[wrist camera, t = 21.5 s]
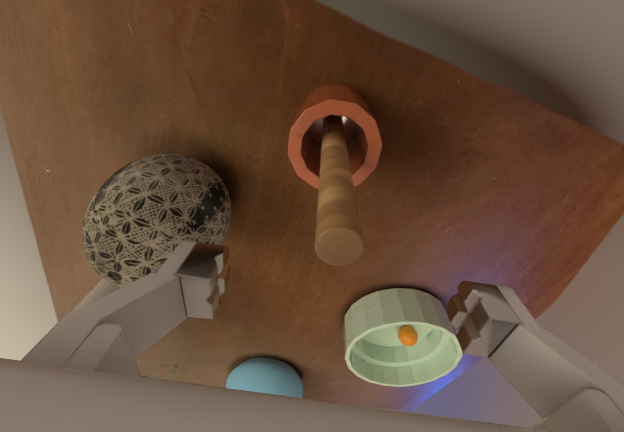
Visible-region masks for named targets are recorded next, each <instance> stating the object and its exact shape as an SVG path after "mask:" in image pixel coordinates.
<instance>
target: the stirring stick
mask: <svg viewBox="0 0 624 432" xmlns="http://www.w3.org/2000/svg"><path fill="white" fill-rule="evenodd" d="M363 250H364V242H363V236H362V231H361V225H360V219H359V213H358V207H357V202H356V196H355V190H354V184H353V178H352V173H351V167H350V161H349V155H348V150H347V144H346V138H345V132H344V126H343V121H342V118H341V117H340V116H338V115H329V116H326V117H325V118H324V120H323V131H322V146H321V161H320V175H319V190H318V204H317V219H316V234H315V251H316V254H317V255H318V257H319V258H320V259H321V260H322V261H324V262H325V263H327V264H330V265H334V266H344V265H348V264H351V263H353V262H355V261H356V260H357V259H358V258H359V257H360V256H361V254H362V253H363Z"/></svg>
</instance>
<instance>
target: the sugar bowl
mask: <svg viewBox="0 0 624 432" xmlns="http://www.w3.org/2000/svg"><path fill="white" fill-rule="evenodd" d="M226 388H229V389H237V390H244V391H252V392H260V393H267V394H275V395H282V396H290V397H297V398H302V394H303V384H302V381H301V379H300V377H299V375H298V374H297V373H296V371H295V370H294V369H293V368H292V367H291V366H289V365H288V364H286V363H284V362H282V361H279V360H276V359H271V358H253V359H249V360H247V361H244V362H243V363H241V364H240V365H238V366H237V367H236V368H235V369H233V370H232V372H231V373H230V374H229V376H228V379H227V383H226Z"/></svg>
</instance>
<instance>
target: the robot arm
mask: <svg viewBox="0 0 624 432" xmlns="http://www.w3.org/2000/svg"><path fill="white" fill-rule="evenodd" d="M228 258H229V248H228V247H226V246H220V245H214V244H208V243H202V242H194V241H188V240H183V241H181V242H180V243H179V244H178V245H177V247H176V248H175V249H174V251H173V252H172V253H171V255H170V256H169V257H168V259H167V260H166V261H165V263H164V264H163V265H162V266H161V268H160V269H159V270H158V272H157V273H150V274H148V275H146V276H144V277H142V278H140V279H138V280H136V281H134V282H132V283H130V284H128V285H126V286H124V287H122V288H120V289H118V290H116V291H114V292H112V293H109V294H107V295H105V296H103V297H101V298H99V299H97V300H95V301H93V302H91V303H89V304H87V305H85V306H83V307H81V308H79V309H77V310H75V311H73V312H71V313H69V314H67V315H65V316H64V317H63V318H62V319H61V320H60V321H59V322H58V323H57V324H56V325H55V326H54V327H53V328H52V329H51V330H50V331H49V332H48V333H47V334H46V335H45V337H43V338H42V339H41V340H40V342H38V344H37V345H36V346H35V347H34V348H33V349H32V350H31V351H30V352H29V353H28V354H27V355H26V356H25V357H24V358H23V359H22V360H21V361H18V360H11V359H2V358H0V432H624V384H622V383H621V382H620V381H618V380H617V379H615V378H614V377H612V376H611V375H610V374H608V373H607V372H606V371H604V370H603V369H601V368H600V367H599V366H597V365H596V364H594V363H593V362H592V361H590V360H589V359H587V358H586V357H585V356H583V355H582V354H581V353H579V352H578V351H576V350H575V349H574V348H572V347H571V346H569V345H568V344H567V343H565V342H564V341H562V340H561V339H560V338H558V337H557V336H556V335H554V334H553V333H551V332H550V331H548V330H547V329H546V328H542V327H540V326H539V325H538V323H537V322H536V321H535V319H534V318H533V317H532V315H531V314H530V312H529V311H528V310H527V308H526V307H525V306H524V304H523V303H522V302H521V300H520V299H519V297H518V296H517V295H516V293H515V292H514V291H513V289H511V288H510V287H508V286H502V285H494V284H493V285H491V284H485V283H478V282H470V281H463V282H461V283H460V284H459V286H458V287H457V290H458V294H456V295H454V296H452V297H451V299H450V301H449V302H448V307H447V313H448V318H449V321H450V323H451V324H452V325H453V326H454V327H455V328H456V329H457V333H456V337H457V340H458V342H459V345H460V347H461V349H462V352H463V354H467V355H474V356H480V357H486V358H489V360H490V361H491V363H492V364H493V365H494V366H495V367H496V368H497V369H498V370H499V371H500V372H501V374H502V375H503V376H504V377H505V378H506V379H507V380H508V381H509V382H510V383H511V384H512V386H513V387H514V388H515V389H516V390H517V391H518V392H519V393H520V394H521V395H522V396H523V398H524V399H525V400H526V401H527V402H528V403H529V404H530V405H531V406H532V407H533V409H534V410H535V411H536V412H537V413H538V414H539V415H540V416H541V417H542V418H543V419H542V420H541V421H539V422H538V423H536V424H535V425H534V426H533V428H524V427H517V426H509V425H502V424H494V423H486V422H479V421H472V420H464V419H456V418H449V417H441V416H434V415H426V414H419V413H411V412H404V411H396V410H389V409H381V408H374V407H366V406H358V405H351V404H343V403H335V402H328V401H320V400H313V399H305V398H297V397H290V396H282V395H275V394H267V393H260V392H252V391H244V390H237V389H229V388H222V387H214V386H207V385H199V384H191V383H184V382H176V381H169V380H161V379H154V378H146V377H141V374H140V371H139V369H138V366H137V364H136V361H135V359H136V358H138V357H139V356H140V355H141V354H143V353H144V352H145V351H146V350H148V349H149V348H150V347H151V346H152V345H154V344H155V343H156V342H157V341H159V340H160V339H161V338H162V337H164V336H165V335H166V334H167V333H168V332H170V331H171V330H172V329H173V328H175V327H176V326H177V325H178V324H180V323H181V322H182V321H183V320H185V319H186V316H187V317H196V318H205V319H213V318H214V315H215V313H216V311H217V309H218V306H219V304H220V295H221V294H222V293H224V292H225V290H226V287H227V284H228V280H229V276H230V265H229V264H228V263H227V260H228Z"/></svg>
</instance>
